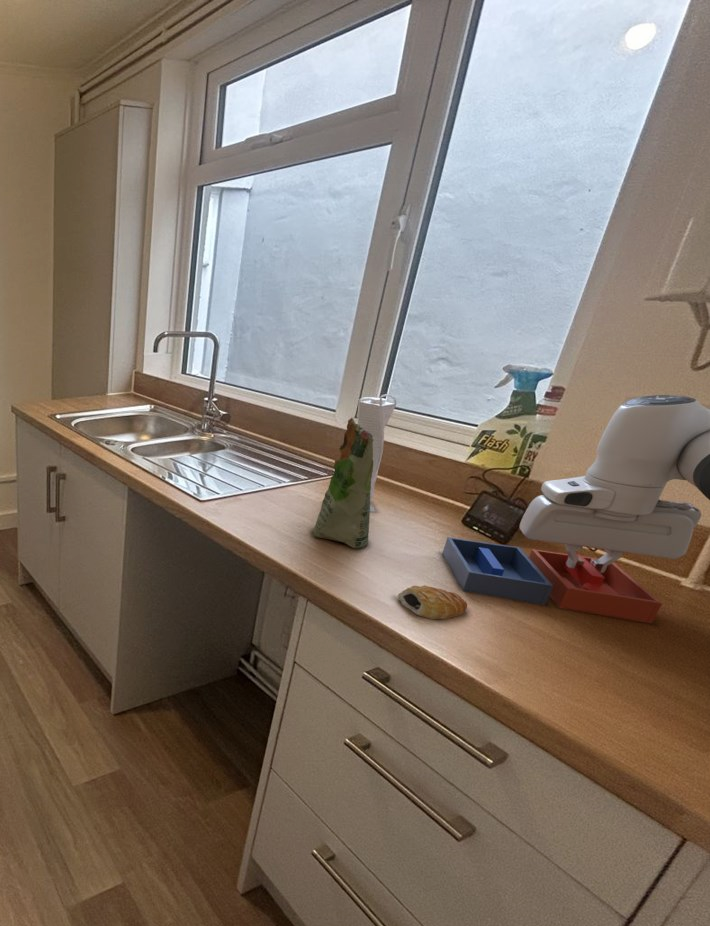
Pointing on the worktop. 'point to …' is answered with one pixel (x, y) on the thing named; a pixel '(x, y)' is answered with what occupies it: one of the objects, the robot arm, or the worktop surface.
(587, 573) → the red spoon
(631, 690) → the worktop surface
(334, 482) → the pouch
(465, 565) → the blue bin
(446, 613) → the pastry
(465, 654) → the worktop surface
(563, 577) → the red bin
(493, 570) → the blue spoon
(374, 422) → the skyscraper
